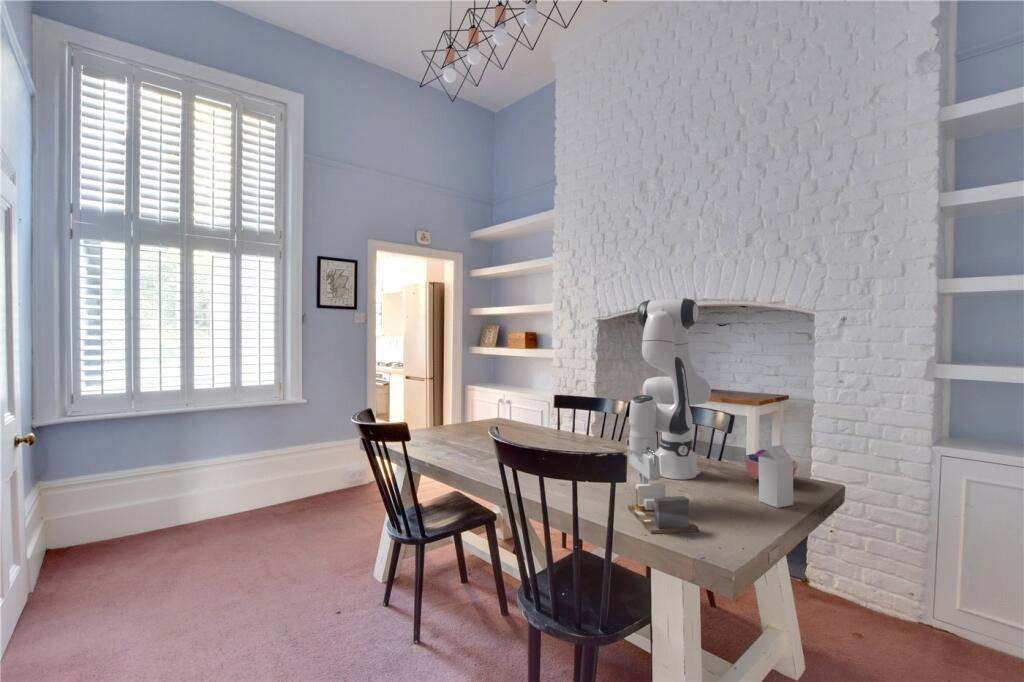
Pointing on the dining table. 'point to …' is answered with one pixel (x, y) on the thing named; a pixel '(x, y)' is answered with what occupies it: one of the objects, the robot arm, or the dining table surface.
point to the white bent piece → (649, 494)
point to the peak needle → (637, 502)
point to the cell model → (753, 464)
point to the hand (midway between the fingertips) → (643, 485)
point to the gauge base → (652, 524)
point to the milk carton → (776, 477)
